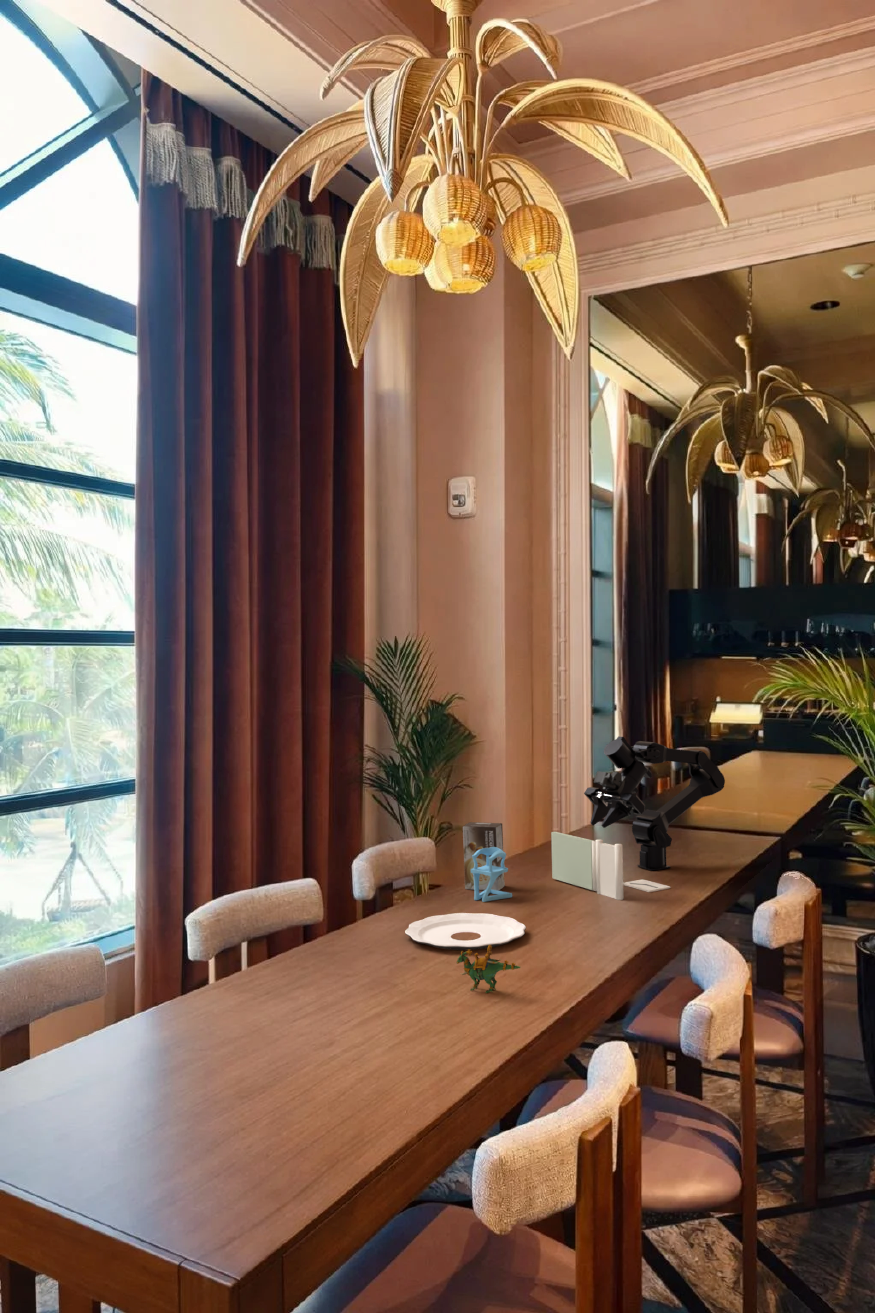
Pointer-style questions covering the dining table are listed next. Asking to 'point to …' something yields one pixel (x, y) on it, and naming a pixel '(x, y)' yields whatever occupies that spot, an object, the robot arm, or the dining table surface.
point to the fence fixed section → (609, 869)
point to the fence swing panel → (574, 860)
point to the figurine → (483, 968)
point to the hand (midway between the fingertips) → (597, 825)
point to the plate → (465, 930)
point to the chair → (489, 874)
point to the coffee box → (475, 840)
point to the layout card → (646, 885)
